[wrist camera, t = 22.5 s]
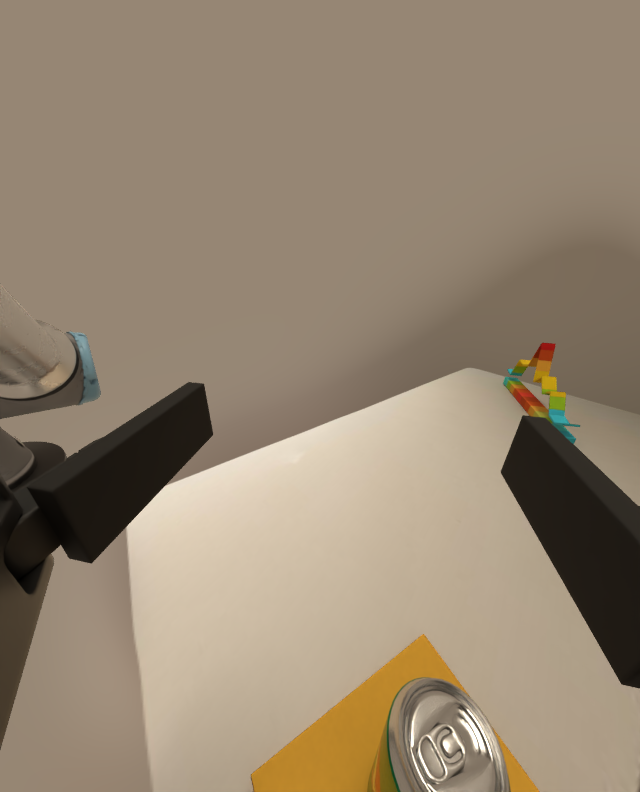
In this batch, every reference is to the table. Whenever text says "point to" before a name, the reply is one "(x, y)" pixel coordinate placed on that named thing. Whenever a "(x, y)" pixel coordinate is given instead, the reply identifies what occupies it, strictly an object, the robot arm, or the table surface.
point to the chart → (549, 387)
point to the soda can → (437, 743)
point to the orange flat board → (360, 733)
